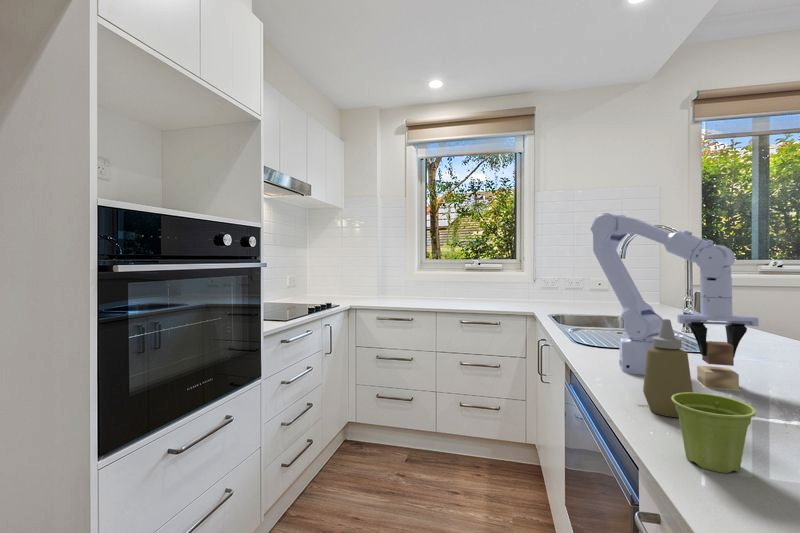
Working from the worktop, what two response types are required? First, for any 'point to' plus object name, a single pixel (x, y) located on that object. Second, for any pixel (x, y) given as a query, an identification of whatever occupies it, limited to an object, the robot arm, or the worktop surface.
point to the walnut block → (719, 353)
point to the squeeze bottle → (666, 372)
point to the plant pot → (713, 429)
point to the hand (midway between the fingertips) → (716, 355)
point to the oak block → (718, 377)
